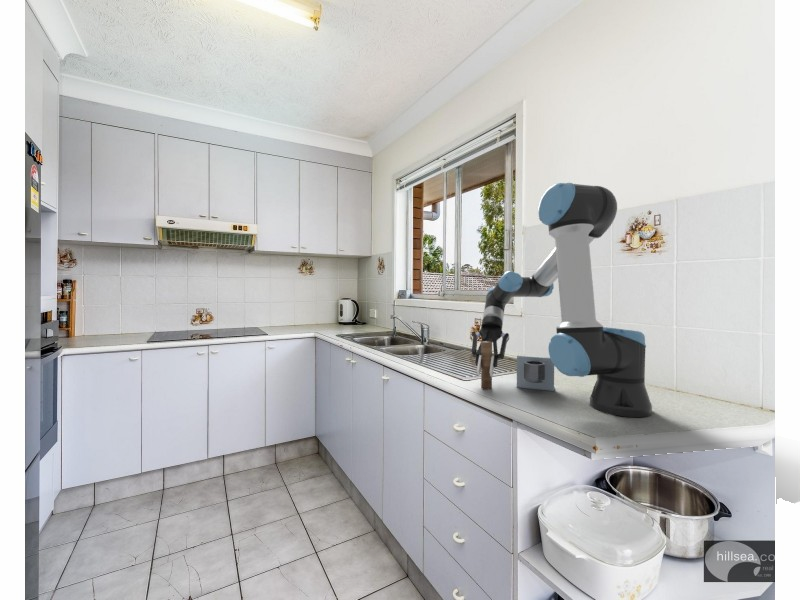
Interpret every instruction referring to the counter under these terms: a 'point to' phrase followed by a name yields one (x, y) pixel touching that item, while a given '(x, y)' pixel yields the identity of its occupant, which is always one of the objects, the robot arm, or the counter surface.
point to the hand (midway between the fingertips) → (484, 373)
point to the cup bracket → (534, 371)
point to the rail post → (486, 364)
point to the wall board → (525, 384)
